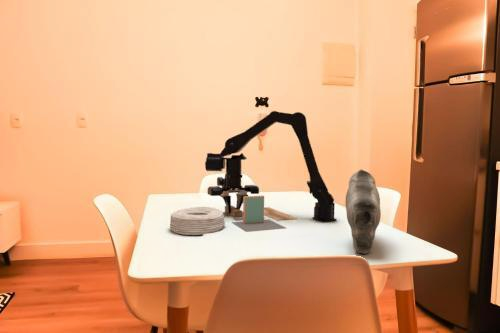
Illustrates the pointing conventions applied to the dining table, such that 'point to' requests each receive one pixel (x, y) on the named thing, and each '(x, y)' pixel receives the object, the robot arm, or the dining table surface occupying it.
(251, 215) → the tile
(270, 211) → the board
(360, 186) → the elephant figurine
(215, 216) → the cable
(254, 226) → the mat
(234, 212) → the brown wooden plank
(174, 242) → the dining table surface
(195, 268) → the dining table surface
